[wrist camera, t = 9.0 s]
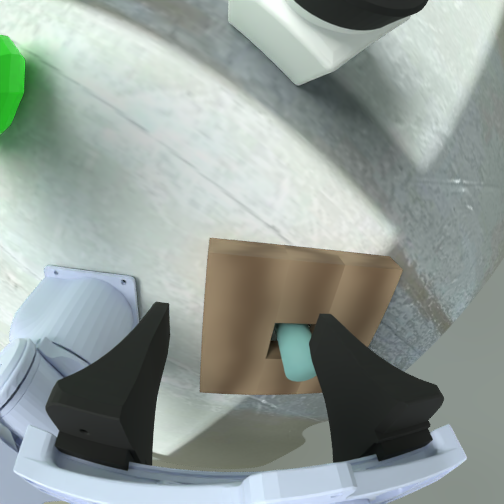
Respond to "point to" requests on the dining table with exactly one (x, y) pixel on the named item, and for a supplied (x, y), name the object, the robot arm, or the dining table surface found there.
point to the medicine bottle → (316, 30)
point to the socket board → (282, 308)
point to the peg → (295, 350)
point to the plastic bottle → (10, 81)
